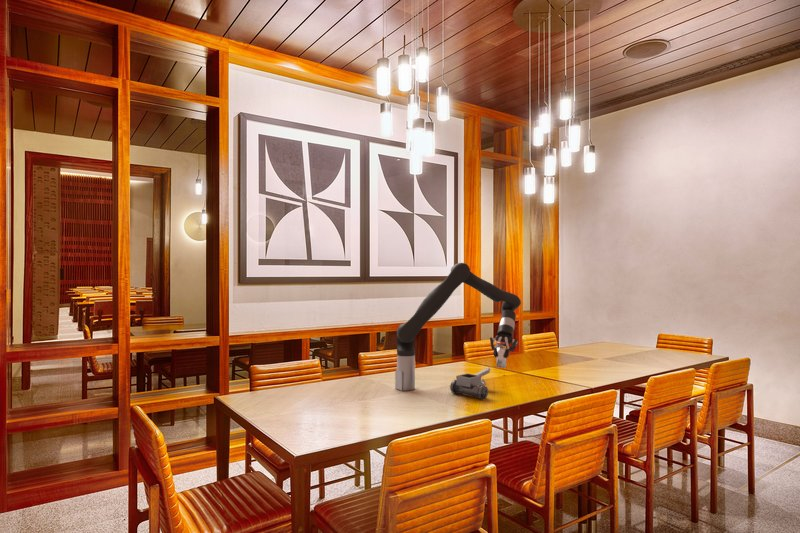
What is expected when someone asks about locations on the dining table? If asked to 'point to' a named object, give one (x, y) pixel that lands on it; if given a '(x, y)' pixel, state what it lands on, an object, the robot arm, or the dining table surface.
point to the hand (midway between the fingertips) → (500, 356)
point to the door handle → (483, 375)
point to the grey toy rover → (469, 386)
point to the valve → (501, 355)
